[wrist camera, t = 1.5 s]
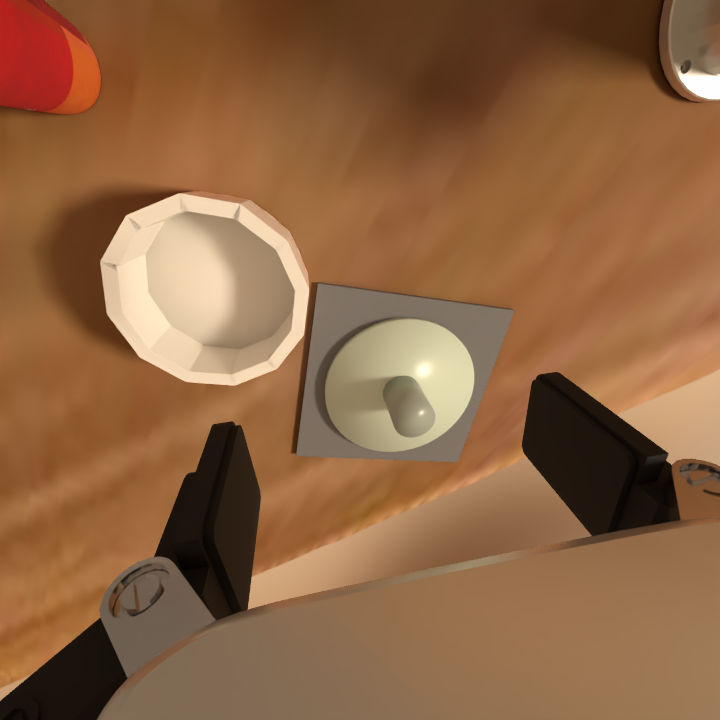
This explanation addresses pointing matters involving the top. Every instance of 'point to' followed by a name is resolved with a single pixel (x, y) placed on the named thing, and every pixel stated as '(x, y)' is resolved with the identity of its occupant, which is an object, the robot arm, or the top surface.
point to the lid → (399, 384)
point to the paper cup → (45, 60)
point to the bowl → (206, 287)
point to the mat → (366, 307)
